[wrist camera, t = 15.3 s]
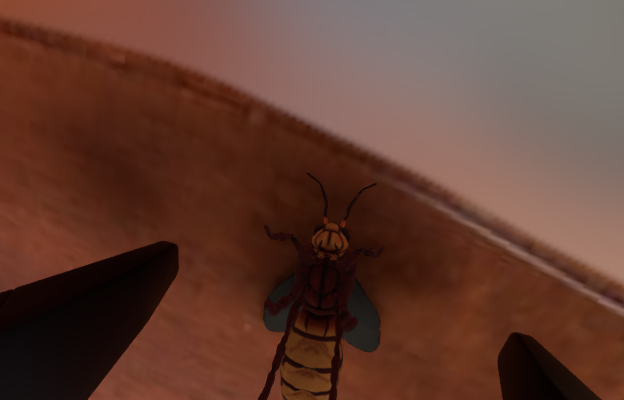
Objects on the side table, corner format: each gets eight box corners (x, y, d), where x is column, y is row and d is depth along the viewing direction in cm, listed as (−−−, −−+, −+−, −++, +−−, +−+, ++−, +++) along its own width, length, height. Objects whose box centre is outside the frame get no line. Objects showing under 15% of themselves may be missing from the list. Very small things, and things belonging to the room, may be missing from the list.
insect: (178, 234, 5) (275, 157, 9) (188, 499, 7) (263, 330, 12) (464, 288, 4) (417, 178, 9) (377, 554, 6) (376, 354, 11)
